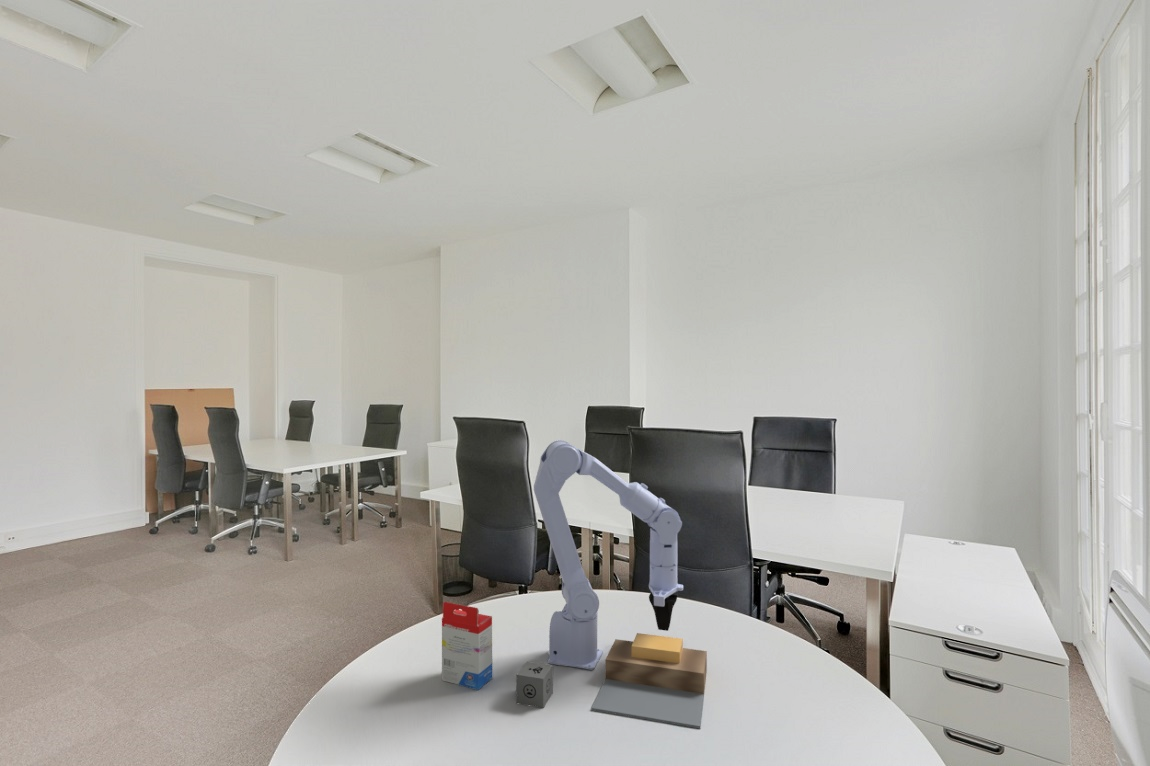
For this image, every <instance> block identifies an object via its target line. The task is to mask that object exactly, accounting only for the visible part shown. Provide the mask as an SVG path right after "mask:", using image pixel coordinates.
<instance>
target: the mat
mask: <svg viewBox="0 0 1150 766" xmlns="http://www.w3.org/2000/svg"><path fill="white" fill-rule="evenodd" d="M599 689H600V690H599V691H598V693H597V696H596V698H595V699H594V702H593V704H592V706H591V711H594V712H599V713H605V714H611V715H617V716H622V717H623V716H624V717H630V718H635V719H642V720H647V721H653V722H658V723H659V722H660V723H663V724H664V723H665V724H669V725H677V726H682V727H687V728H688V727H689V728H695V729H701V726H702V725H701V724H702V717H703V709H704V707H703V706H704V698H705V693H704V694H701V693H694V692H688V691H681V690H675V689H668V688H661V687H655V686H648V685H642V684H635V683H629V682H622V681H615V680H609V679H605V678H604V681H603V683H602V685H601V687H600V688H599Z"/></svg>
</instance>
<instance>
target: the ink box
mask: <svg viewBox="0 0 1150 766" xmlns="http://www.w3.org/2000/svg"><path fill="white" fill-rule="evenodd" d="M492 679H493V616H492V615H487V614H482V613H479V608H478V607H476V606H469V605H464V604H459V603H453V602H447V601H443V603H442V618H441V680H442V681H443V682H446V683H452V684H455V685H459V686H462V687H466V688H469V689H472V690H473V689H474V690H477V691H479V690H480V689H481V688H482V687H483V686H485V685H486V684H487V683H488V682H489V681H490V680H492Z"/></svg>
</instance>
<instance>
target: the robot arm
mask: <svg viewBox="0 0 1150 766" xmlns="http://www.w3.org/2000/svg"><path fill="white" fill-rule="evenodd" d="M575 474H578V475H579V476H591V477H592V478H594V479H595V480H597V482H600V483H601V484H603V486H605V487H606V488H607V489H609V490H611V491H612V492H614V493H615V494H617V495H618V497H619V503H620V506H622V507H623V508H624V509H626V510H627V511H628V512H630V513H631V514H633V515H634V516H635V517H637V518H638V519H640V520H641V521H642V522H644V523H647V525H648V527H650V529H649V536H650V537H649V583H648V589H649V590H650V593H649V595H648V600H649V602H650V605H651V606H652V608H653V611H654V616H655V621H656V626H657V630H658V631H659V630H660V631H666V632H668V631H669V629H670V625H671V622H672V621H671V620H672V615H673V610H674V606H675V604H676V602H677V600H678V597H679V592H681V591H684V585H683V584H680V583H678V557H679V556H678V534H679V532H681V529H682V526H683V521H682V520H681V517H680V516H679V513H678V511H677V510H676V509H674V508H673V507H671V506H669V505H667V503H666V500H665V499H664V498H662V497H657V496H656V495H655V494H653V493H652V492H651V491H650V490H648V488H649V487H648V485H646V484H645V483H643V482H641V483H639V482H637V481H634V482H626V480H624V479H623V478H621V477H620V476H619V475H618V474H616V473H615V472H614V471H612V469H610V467H608V466H606V464H604V463H603V462H601V461H600V460H599V459H597V458H596V457H595V456H592V455H591V454H590V453H587V452H586V451H583V450H581V449H580V448H577V447H576V446H575V445H573V444H570V442H567V441H564V440H561V439H560V440H558V439H557V440H554V441H552V442H551V443H550V444H549V445H548V446H547V447H546V448H545V450H544V451H543V453H542V454H541V456H540V458H539V465H538V469H537V473H536V477H535V480H534V484H533V492H534V495H535V498H536V501H537V505H538V507H539V510H540V514H541V516H542V520H543V522H544V527H545V529H546V533H547V535H548V539H549V542H550V543H551V547H552V551H553V554H554V557H555V559H556V563H557V566H558V569H559V572H560V576H561V580H562V585H561V594H562V597H563V599H564V601H565V604H564V605H563V606H564V607H563V608H562V610H561V611H559V610H556V611H554V612H553V613H552V615H551V619H550V623H549V635H548V637H549V640H548V641H549V643H548V648H549V651H548V652H549V655H548V657H549V659H548V660H547V662H548V664H549V665H557V666H558V665H559V666H566V667H571V668H578V669H586V670H595V669H596V666H597V664H598V662H599V661H600V659H601V657H602V655H603V654H604V650H603V649H598V610H599V608H600V599H599V597H598V595H597V593H596V592H595V591H594V589H593V588H592V585H591V582H590V580H589V579H588V577H587V576H586V573H585V569H584V568H583V565H582V562H581V559H580V555H579V552H578V550H577V547H576V544H575V540H574V538H573V534H572V532H571V531H572V530H571V529H570V524H569V522H568V518H567V516H566V513H565V510H564V506H563V503H562V501H561V498H560V492H561V490H562V488H563V486H564V485H565V483H566V481H567V480H568V479H569V478H571V477H572V476H573V475H575Z"/></svg>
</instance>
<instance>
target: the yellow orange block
mask: <svg viewBox="0 0 1150 766" xmlns="http://www.w3.org/2000/svg"><path fill="white" fill-rule="evenodd" d="M683 640H684V639H683V638H678V637H672V636H670V637H669V636H664V635H655V634H654V635H653V634H649V633H640V632H637V633H636V635H635V637H634V639H633V644H632V657H637V658H644V659H652V660H659V661H666V662H673V663H680V660H681V655H682V650H683V648H684V647H683V646H684V642H683Z"/></svg>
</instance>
